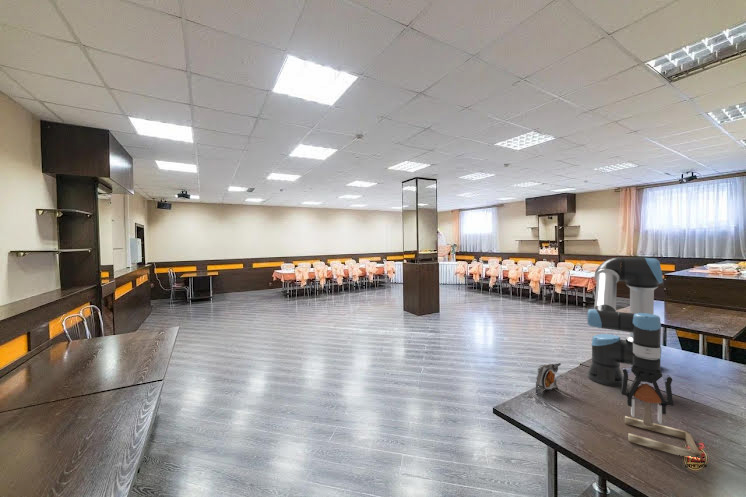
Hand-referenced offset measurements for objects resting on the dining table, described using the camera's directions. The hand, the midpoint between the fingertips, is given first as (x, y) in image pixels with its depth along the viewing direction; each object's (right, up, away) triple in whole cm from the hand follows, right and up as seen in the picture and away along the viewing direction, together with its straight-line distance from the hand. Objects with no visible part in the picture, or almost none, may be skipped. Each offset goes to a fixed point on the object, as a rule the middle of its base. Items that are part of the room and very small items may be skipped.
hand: (645, 418), depth 111 cm
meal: (-16, -7, +35) cm, 39 cm away
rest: (+3, -7, -2) cm, 8 cm away
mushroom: (0, -2, 0) cm, 2 cm away
